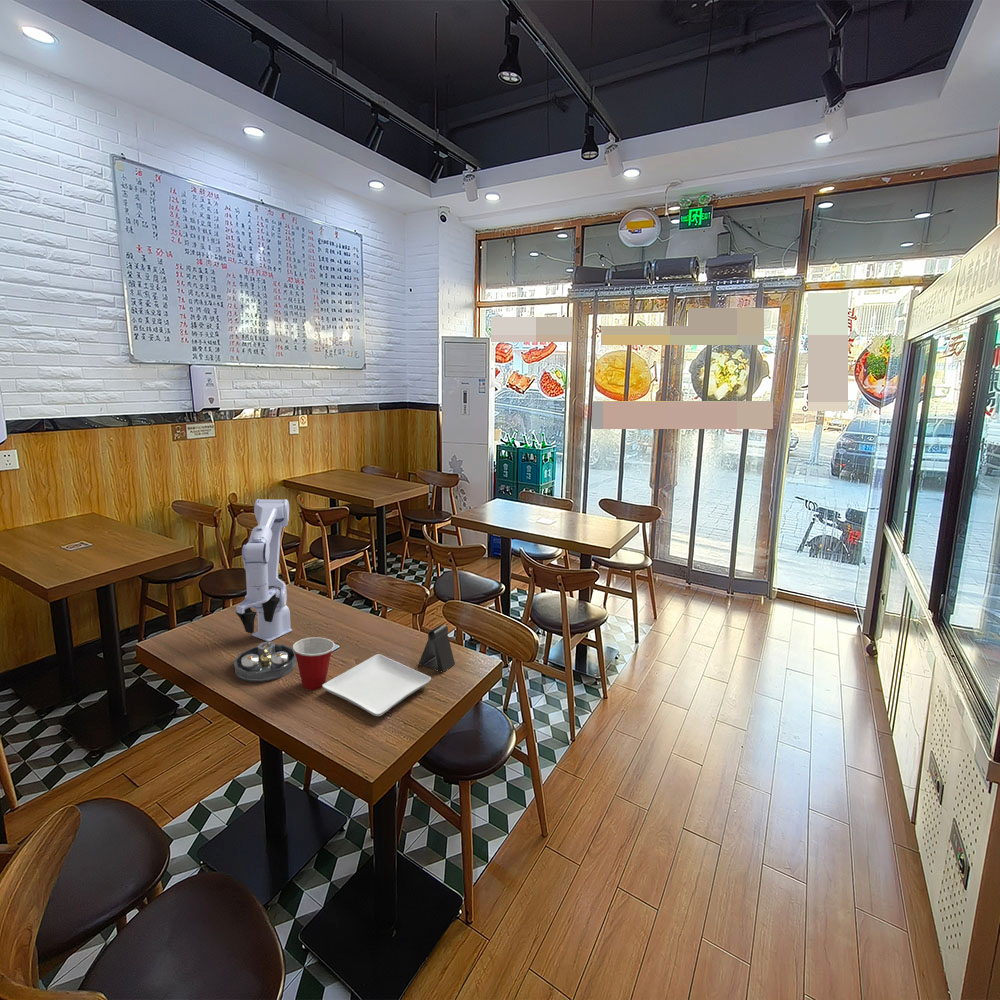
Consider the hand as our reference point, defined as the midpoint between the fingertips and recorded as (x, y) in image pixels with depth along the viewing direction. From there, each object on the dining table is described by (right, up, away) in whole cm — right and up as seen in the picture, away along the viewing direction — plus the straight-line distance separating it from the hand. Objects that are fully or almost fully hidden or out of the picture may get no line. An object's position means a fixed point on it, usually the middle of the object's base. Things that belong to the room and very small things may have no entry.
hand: (259, 626), depth 156 cm
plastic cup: (+20, -14, -10) cm, 26 cm away
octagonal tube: (+2, -9, +1) cm, 9 cm away
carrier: (+3, -11, -3) cm, 12 cm away
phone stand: (+51, -13, +4) cm, 53 cm away
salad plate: (+37, -15, -11) cm, 42 cm away
